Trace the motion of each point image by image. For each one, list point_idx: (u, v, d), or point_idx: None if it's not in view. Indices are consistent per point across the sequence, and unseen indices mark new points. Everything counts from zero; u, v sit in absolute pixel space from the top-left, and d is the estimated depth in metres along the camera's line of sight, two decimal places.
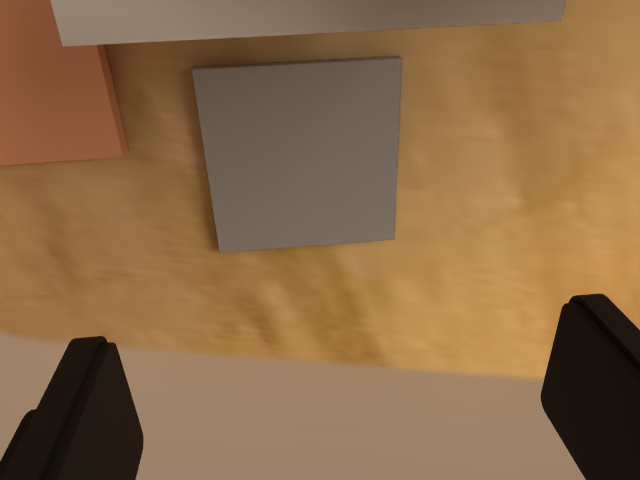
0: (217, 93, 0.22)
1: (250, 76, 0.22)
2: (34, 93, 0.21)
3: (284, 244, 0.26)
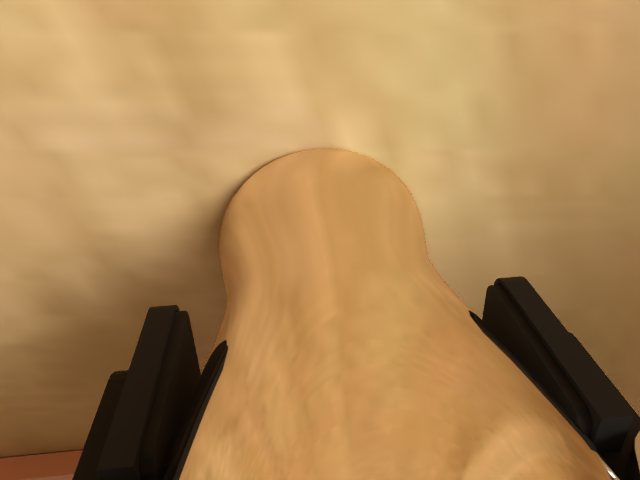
0: None
1: None
2: None
3: None
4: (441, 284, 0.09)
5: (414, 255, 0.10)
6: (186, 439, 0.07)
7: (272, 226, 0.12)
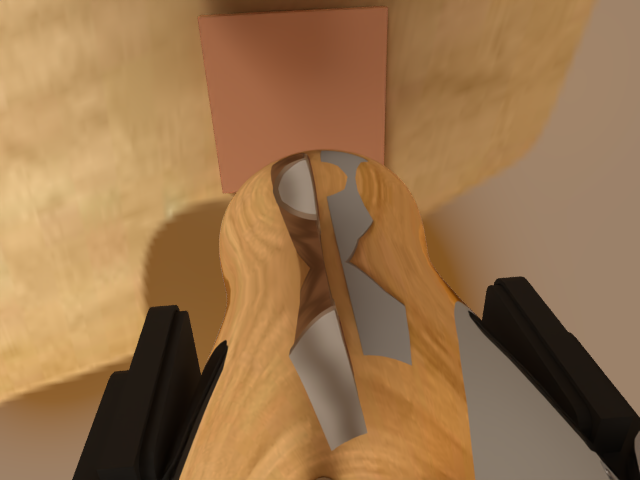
0: None
1: None
2: (333, 67, 0.29)
3: None
4: (441, 285, 0.09)
5: (414, 256, 0.10)
6: (185, 440, 0.07)
7: (272, 227, 0.12)
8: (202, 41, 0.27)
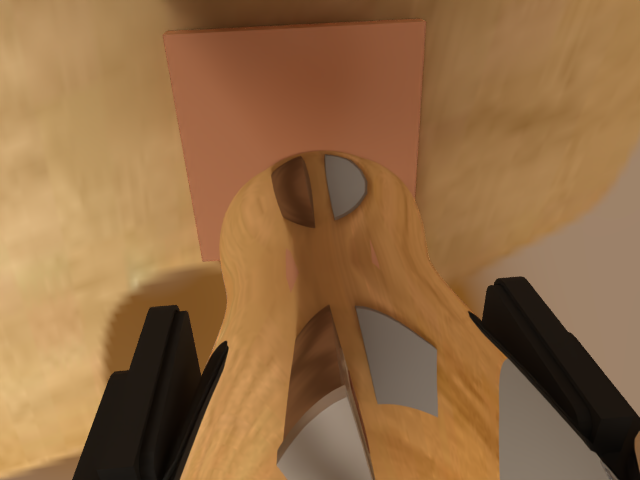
0: None
1: None
2: (349, 101, 0.21)
3: None
4: (442, 285, 0.09)
5: (414, 256, 0.10)
6: (186, 441, 0.07)
7: (273, 228, 0.12)
8: (170, 67, 0.20)
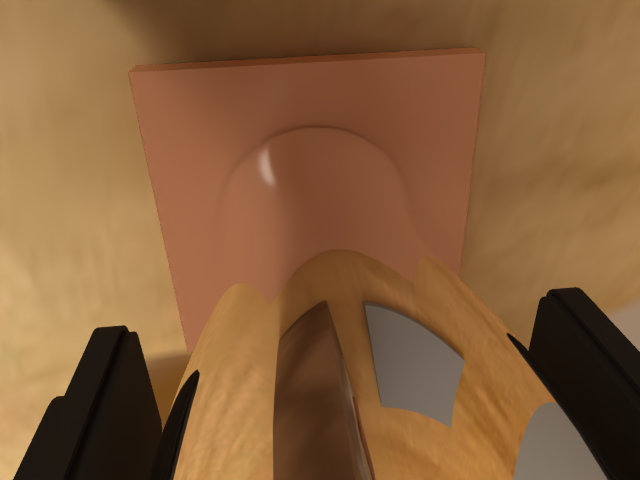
0: None
1: None
2: None
3: None
4: (420, 243, 0.11)
5: (397, 220, 0.12)
6: (195, 365, 0.08)
7: (269, 196, 0.13)
8: (139, 115, 0.15)
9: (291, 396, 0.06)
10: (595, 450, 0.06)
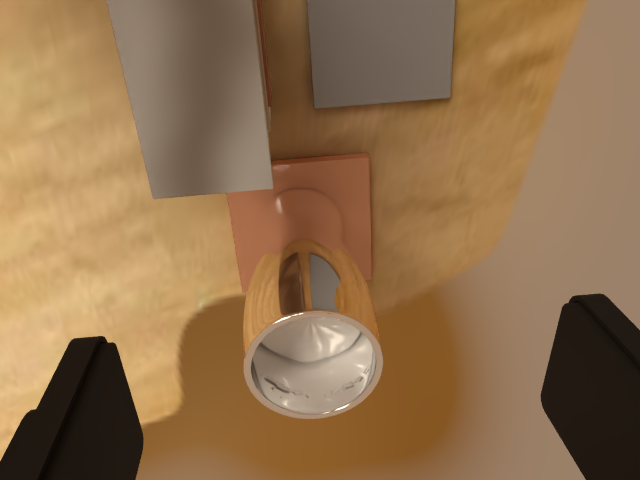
0: (329, 92, 0.33)
1: (318, 70, 0.33)
2: None
3: (449, 45, 0.32)
4: (330, 232, 0.31)
5: (325, 225, 0.32)
6: (258, 265, 0.28)
7: (279, 217, 0.33)
8: None
9: (283, 262, 0.26)
10: (352, 274, 0.26)
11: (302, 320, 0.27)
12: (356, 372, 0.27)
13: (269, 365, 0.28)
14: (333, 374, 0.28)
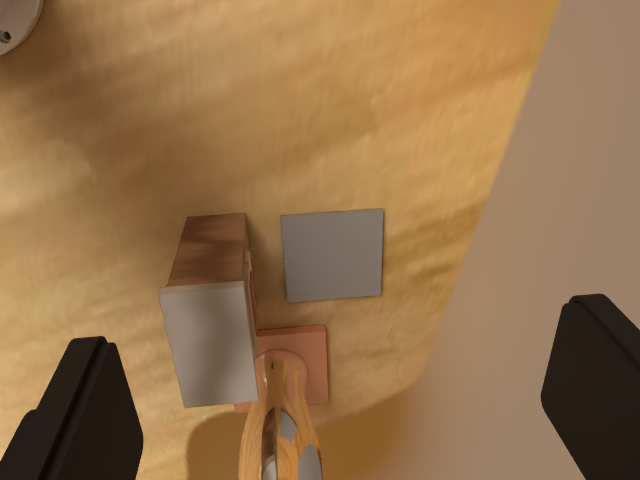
0: (297, 293, 0.48)
1: (290, 281, 0.48)
2: None
3: (379, 266, 0.48)
4: (296, 397, 0.46)
5: (293, 388, 0.48)
6: (248, 427, 0.44)
7: (262, 378, 0.49)
8: None
9: (264, 435, 0.42)
10: (307, 442, 0.42)
11: None
12: None
13: None
14: None
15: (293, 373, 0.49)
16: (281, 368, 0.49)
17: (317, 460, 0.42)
